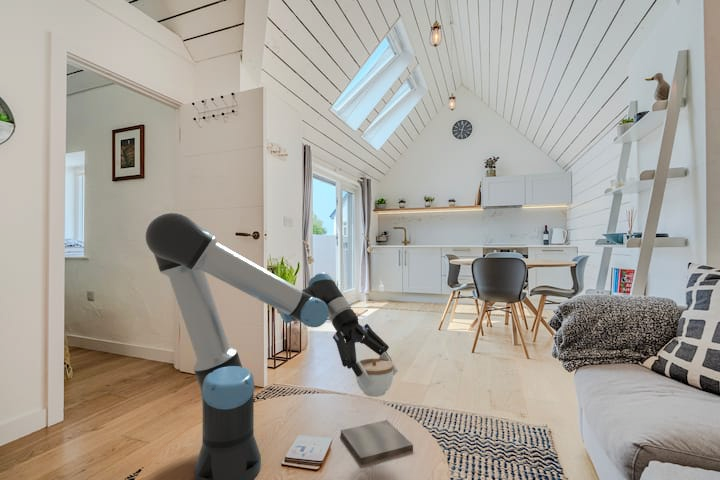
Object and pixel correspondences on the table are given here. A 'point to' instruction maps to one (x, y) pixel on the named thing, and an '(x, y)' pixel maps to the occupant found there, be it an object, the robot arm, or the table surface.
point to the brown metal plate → (375, 441)
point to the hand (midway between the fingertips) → (382, 379)
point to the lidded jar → (377, 376)
